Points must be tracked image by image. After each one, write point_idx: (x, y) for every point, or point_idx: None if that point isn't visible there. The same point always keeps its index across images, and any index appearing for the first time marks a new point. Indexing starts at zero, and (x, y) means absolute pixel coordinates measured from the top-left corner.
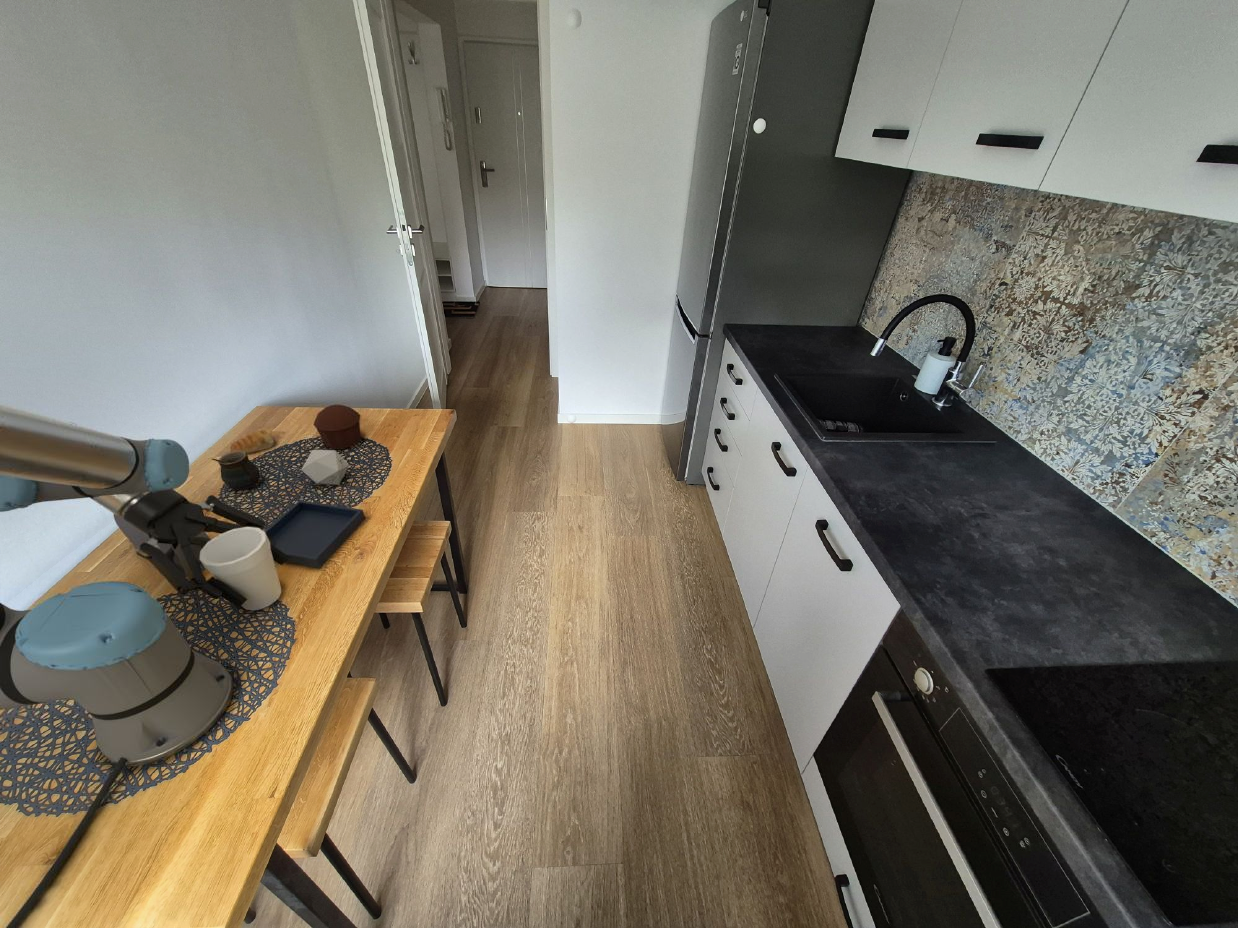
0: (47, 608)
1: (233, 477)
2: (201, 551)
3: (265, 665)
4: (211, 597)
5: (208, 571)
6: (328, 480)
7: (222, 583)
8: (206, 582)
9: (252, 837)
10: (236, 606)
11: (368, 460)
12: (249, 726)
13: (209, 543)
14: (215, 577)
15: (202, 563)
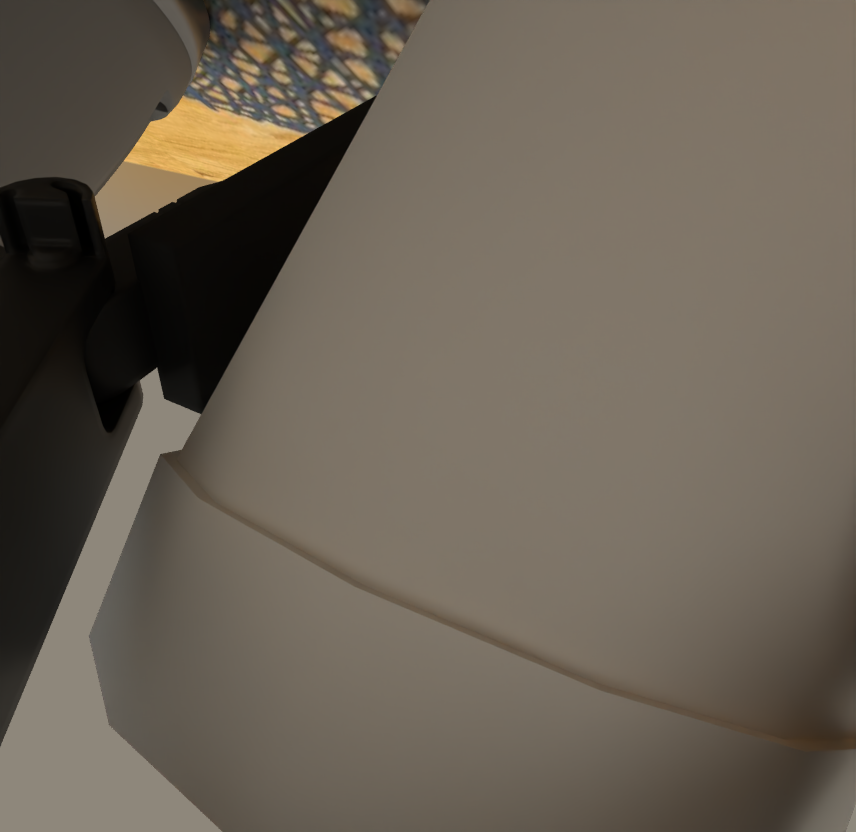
0: None
1: None
2: (124, 715)
3: (341, 95)
4: (186, 194)
5: (179, 450)
6: None
7: None
8: (148, 352)
9: (150, 163)
10: (370, 102)
11: None
12: (206, 114)
13: (266, 821)
14: (270, 290)
15: (121, 562)
